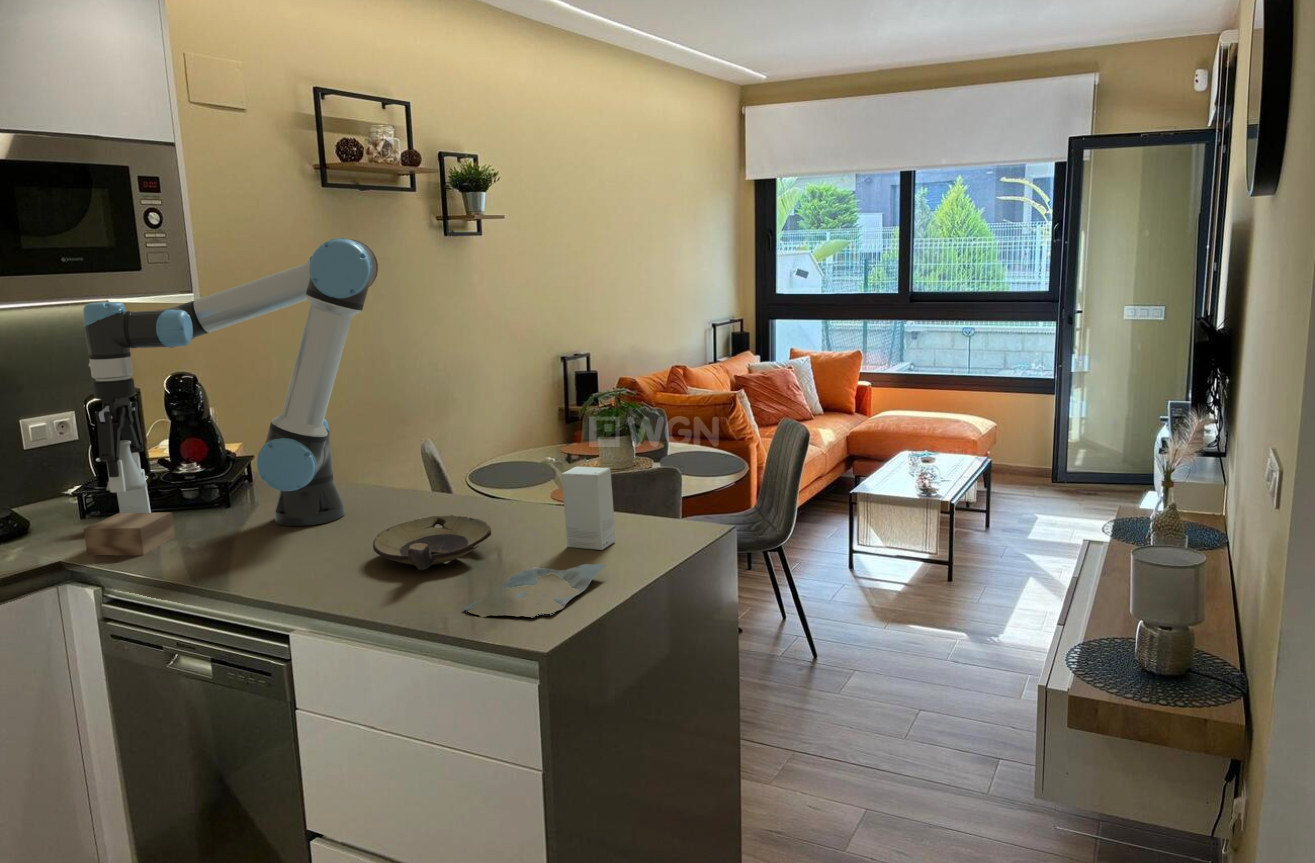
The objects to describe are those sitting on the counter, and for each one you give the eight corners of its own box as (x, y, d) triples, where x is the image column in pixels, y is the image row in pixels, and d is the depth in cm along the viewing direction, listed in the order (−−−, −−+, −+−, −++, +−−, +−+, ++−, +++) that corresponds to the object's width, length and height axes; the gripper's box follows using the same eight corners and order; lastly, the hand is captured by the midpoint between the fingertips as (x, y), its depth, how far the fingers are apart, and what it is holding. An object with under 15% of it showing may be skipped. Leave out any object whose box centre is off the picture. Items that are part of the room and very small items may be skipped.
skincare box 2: (616, 542, 200) (613, 467, 197) (601, 551, 194) (597, 474, 192) (580, 538, 204) (576, 464, 201) (564, 547, 198) (560, 471, 195)
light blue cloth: (543, 634, 158) (541, 621, 157) (459, 624, 164) (457, 611, 164) (609, 576, 180) (607, 564, 179) (533, 569, 186) (531, 558, 185)
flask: (154, 485, 208) (149, 439, 207) (126, 493, 202) (120, 445, 200) (128, 483, 211) (122, 437, 209) (99, 491, 204) (93, 444, 202)
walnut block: (175, 539, 214) (172, 512, 213) (143, 556, 202) (140, 528, 201) (122, 539, 215) (118, 513, 213) (87, 557, 203) (83, 528, 202)
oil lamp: (512, 542, 203) (510, 506, 201) (436, 592, 175) (432, 550, 173) (417, 535, 210) (414, 501, 208) (329, 582, 182) (325, 542, 180)
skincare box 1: (152, 518, 230) (145, 468, 228) (151, 523, 226) (144, 471, 224) (122, 522, 228) (115, 471, 225) (120, 527, 224) (113, 475, 221)
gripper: (116, 372, 212) (130, 476, 216) (68, 385, 192) (84, 500, 196) (152, 371, 212) (165, 475, 216) (108, 384, 192) (123, 498, 197)
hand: (126, 487), depth 206 cm, fingers closed on flask, 7 cm apart
